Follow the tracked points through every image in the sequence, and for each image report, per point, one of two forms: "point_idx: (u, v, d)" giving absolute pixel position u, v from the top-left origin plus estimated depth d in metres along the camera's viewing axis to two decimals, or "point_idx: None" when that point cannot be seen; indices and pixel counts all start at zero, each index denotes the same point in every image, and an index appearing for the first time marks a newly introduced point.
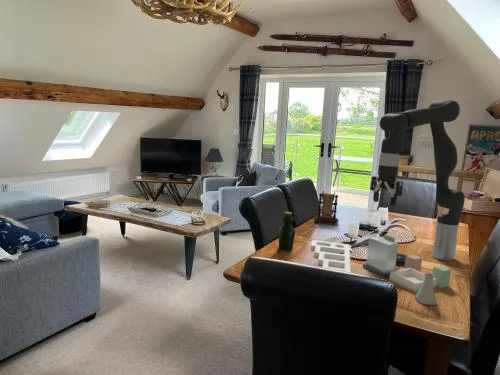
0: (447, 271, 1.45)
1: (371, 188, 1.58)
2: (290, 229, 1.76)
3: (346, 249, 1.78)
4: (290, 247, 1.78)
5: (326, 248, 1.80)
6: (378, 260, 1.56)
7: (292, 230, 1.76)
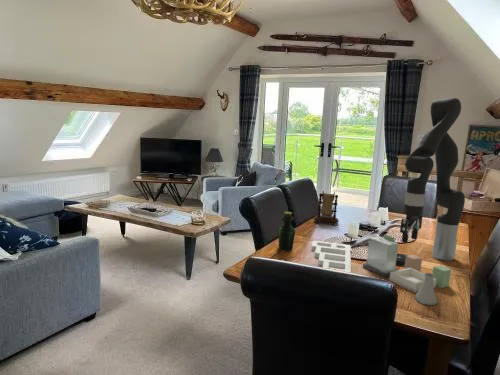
0: (447, 271, 1.45)
1: (406, 231, 1.54)
2: (290, 229, 1.76)
3: (347, 249, 1.78)
4: (290, 247, 1.78)
5: (327, 249, 1.79)
6: (378, 260, 1.56)
7: (292, 230, 1.76)
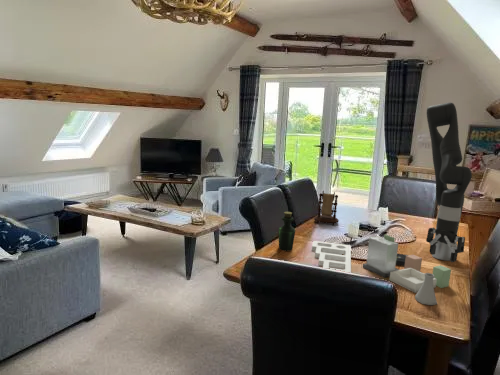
0: (447, 271, 1.45)
1: None
2: (290, 229, 1.76)
3: (347, 250, 1.77)
4: (290, 247, 1.78)
5: (327, 249, 1.79)
6: (378, 260, 1.56)
7: (292, 230, 1.76)
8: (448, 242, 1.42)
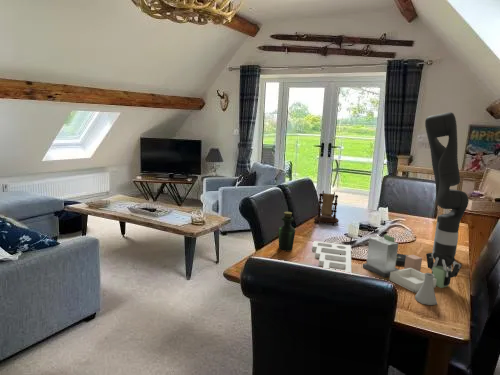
0: None
1: None
2: (290, 229, 1.76)
3: (347, 250, 1.77)
4: (290, 247, 1.78)
5: (327, 249, 1.78)
6: (378, 260, 1.56)
7: (292, 230, 1.76)
8: (444, 266, 1.44)
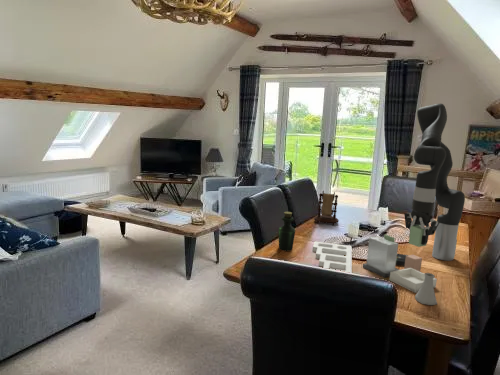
0: None
1: None
2: (290, 229, 1.76)
3: (348, 250, 1.76)
4: (290, 247, 1.78)
5: (328, 249, 1.78)
6: (378, 260, 1.56)
7: (292, 230, 1.76)
8: (421, 224, 1.41)
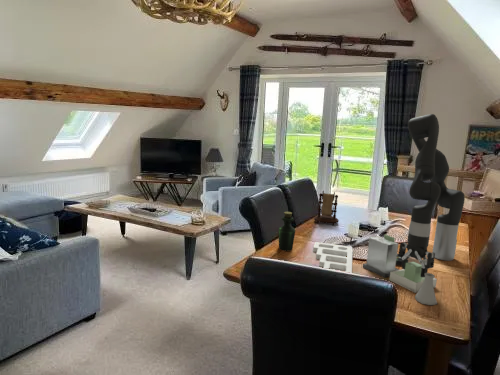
0: (419, 267, 1.45)
1: None
2: (290, 229, 1.76)
3: (349, 251, 1.75)
4: (290, 247, 1.78)
5: (328, 250, 1.77)
6: (378, 260, 1.56)
7: (292, 230, 1.76)
8: (418, 257, 1.43)
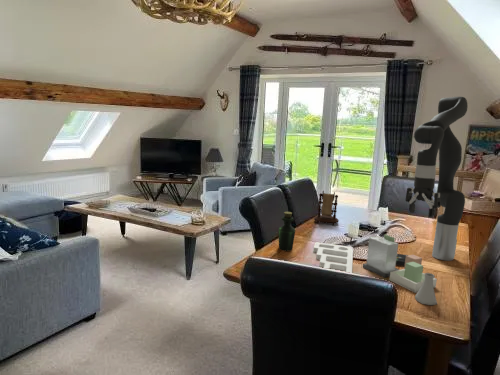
0: (419, 267, 1.45)
1: None
2: (290, 229, 1.76)
3: (349, 251, 1.75)
4: (290, 247, 1.78)
5: (329, 250, 1.76)
6: (378, 260, 1.56)
7: (292, 230, 1.76)
8: (426, 199, 1.50)
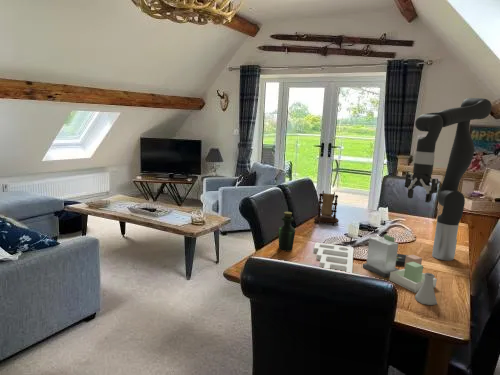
0: (419, 267, 1.45)
1: None
2: (290, 229, 1.76)
3: (350, 252, 1.74)
4: (290, 247, 1.78)
5: (329, 251, 1.76)
6: (378, 260, 1.56)
7: (292, 230, 1.76)
8: (423, 184, 1.57)
